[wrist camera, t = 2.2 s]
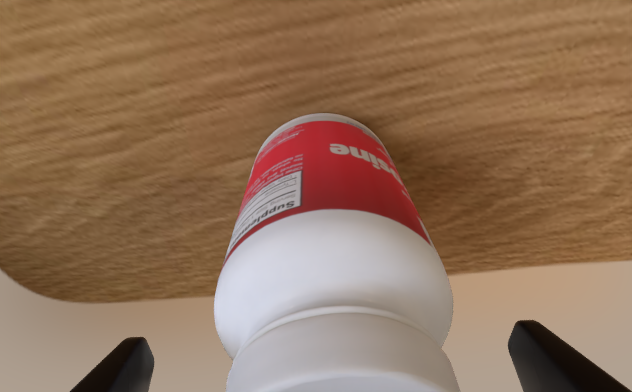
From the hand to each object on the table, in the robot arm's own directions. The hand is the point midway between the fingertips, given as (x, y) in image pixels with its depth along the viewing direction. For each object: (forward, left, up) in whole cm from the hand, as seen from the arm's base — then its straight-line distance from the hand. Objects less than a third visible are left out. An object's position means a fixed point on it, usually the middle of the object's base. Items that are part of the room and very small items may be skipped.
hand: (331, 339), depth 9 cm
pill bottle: (0, 0, -9) cm, 9 cm away
